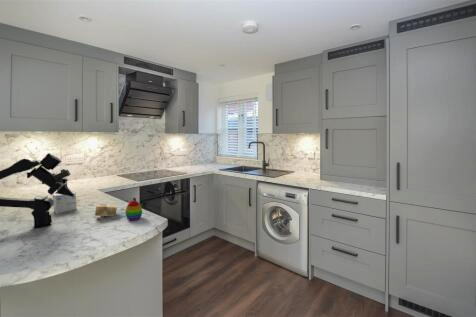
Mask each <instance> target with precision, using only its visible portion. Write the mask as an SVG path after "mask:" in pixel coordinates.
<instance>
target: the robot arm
mask: <svg viewBox="0 0 476 317" xmlns="http://www.w3.org/2000/svg"><path fill="white" fill-rule="evenodd" d="M61 163H62V160H61V159H60V158H59V157H58V156H55V155H53V154H51V153H50V152H49V153H47V154H46V155H45V156H44V157H43V158H42V159H41V160H40V159H39V160H35V159H33V158H31V157H26V158H22V159H20V160H18V161H16V162H15V163H13V164H11V165H10V166H9V167H6V168H4V169H1V170H0V180H3V179H5V178H8V177H10V176H13V175H16V174H18V173H22V172H26V178H27V179H30V178H31V177H33V178H35V179H36V180H38V181H40V182H41V184H42V185H46V186H47V187H48V189H47V194H49V195H50V196H52V194H62V195H67V196H72V197H73V196H74V194H73V193H72V192H73V191H72V190H71V189H70V188H69V187H68V182H69V179H68V177H70V175H71V173H70V170H68V169H65V168H63V169H61V170H60V172H58V173H54V172H53V173H52V172H50V170H52V171H53V170H54V169H56V168H57V166H58V165H60V164H61ZM36 167H37V168H36ZM29 170H31V171H29ZM28 171H29V172H28ZM66 177H67V178H66ZM71 191H72V192H71ZM53 204H54V201H53V198H52V197H48V195H47V196H43V195H37V196H35V197H34V198H31V199H30V198H15V197H14V198H13V197H0V207H5V208H6V207H7V208H25V209H30V210H32V211H31V212H30V214H31V215H32V217H33V228H34V229H37V228H38V229H39V228H44V227H49V226H51V225H52V223H53V222H52V214H50V209H51V208H52V207H54V206H53Z"/></svg>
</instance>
